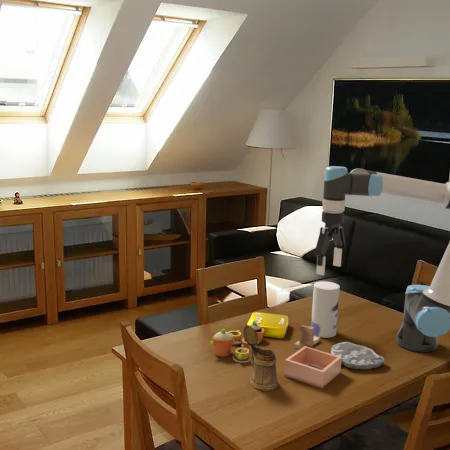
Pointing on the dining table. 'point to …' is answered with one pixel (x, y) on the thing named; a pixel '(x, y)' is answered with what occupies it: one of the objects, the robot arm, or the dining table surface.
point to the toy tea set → (234, 343)
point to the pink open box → (312, 366)
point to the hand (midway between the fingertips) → (328, 270)
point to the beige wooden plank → (315, 340)
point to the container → (325, 309)
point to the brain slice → (357, 356)
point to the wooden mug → (261, 363)
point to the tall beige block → (306, 336)
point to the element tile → (270, 323)
